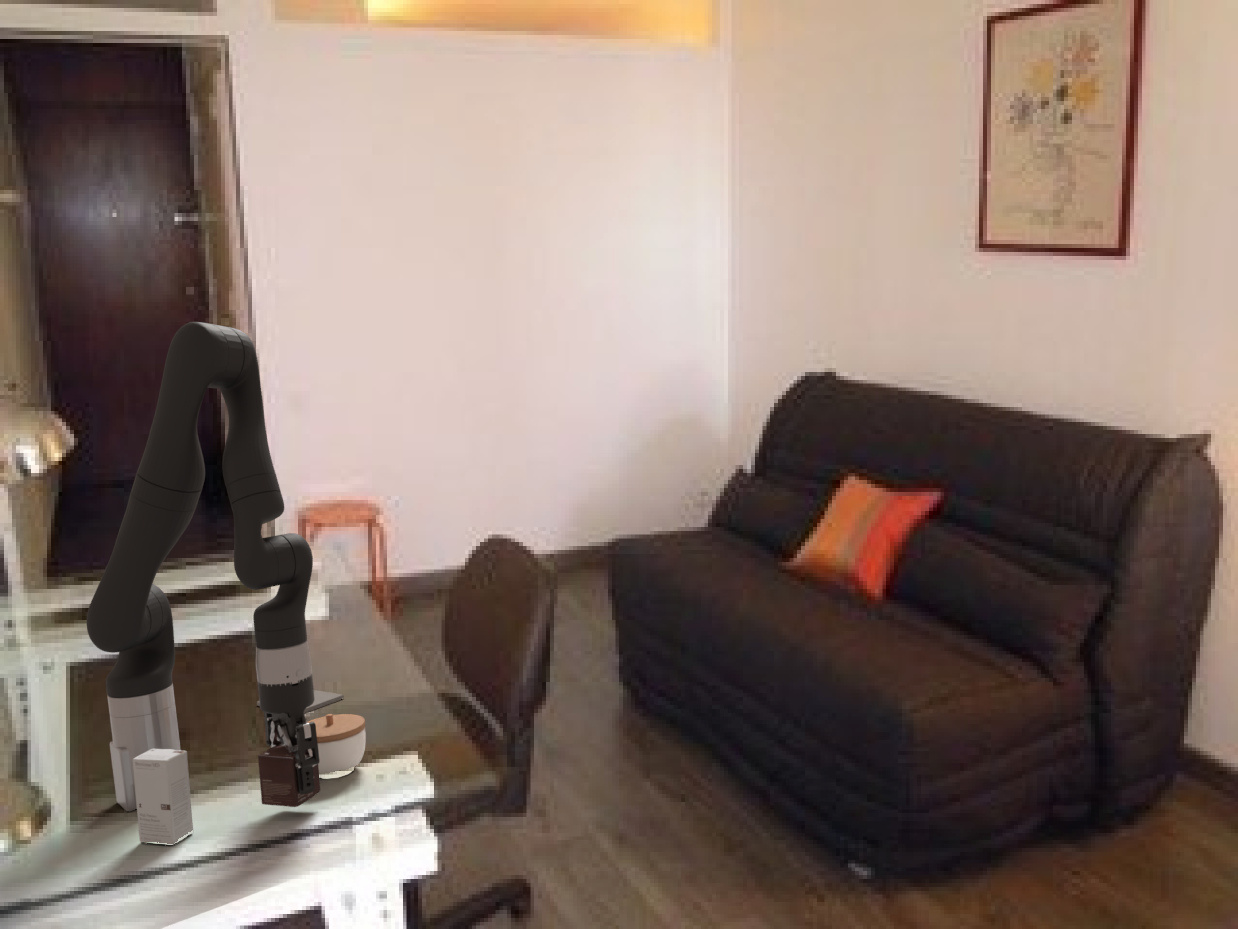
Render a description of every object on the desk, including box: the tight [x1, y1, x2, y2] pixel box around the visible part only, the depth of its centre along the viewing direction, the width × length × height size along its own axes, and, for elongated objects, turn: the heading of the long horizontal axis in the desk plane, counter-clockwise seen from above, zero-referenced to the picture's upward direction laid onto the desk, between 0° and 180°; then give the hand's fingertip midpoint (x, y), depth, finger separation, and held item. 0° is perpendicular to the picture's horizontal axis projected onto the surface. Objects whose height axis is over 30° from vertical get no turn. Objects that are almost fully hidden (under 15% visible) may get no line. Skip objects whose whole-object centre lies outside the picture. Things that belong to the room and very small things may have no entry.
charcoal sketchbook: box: [256, 689, 345, 714], centre depth 209 cm, size 10×14×1 cm
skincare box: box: [132, 749, 194, 844], centre depth 147 cm, size 6×4×12 cm
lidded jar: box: [307, 713, 367, 773], centre depth 168 cm, size 11×11×9 cm
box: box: [257, 743, 321, 808], centre depth 152 cm, size 6×6×7 cm
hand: (295, 784), depth 153 cm, fingers closed on box, 8 cm apart
